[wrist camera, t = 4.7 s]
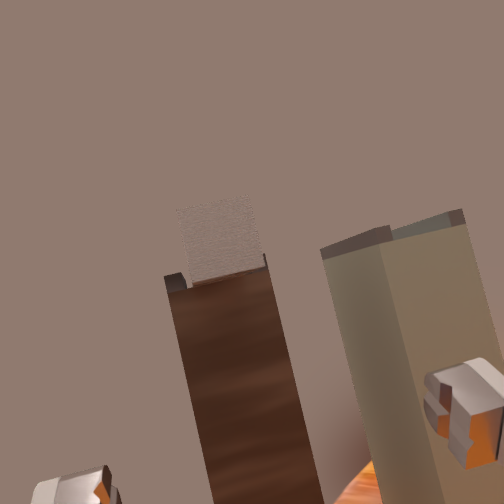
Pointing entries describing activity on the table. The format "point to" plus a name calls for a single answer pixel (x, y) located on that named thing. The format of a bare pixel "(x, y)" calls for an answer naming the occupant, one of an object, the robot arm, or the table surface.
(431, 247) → the sage stand
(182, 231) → the steel bar
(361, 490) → the table surface
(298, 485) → the walnut stand
